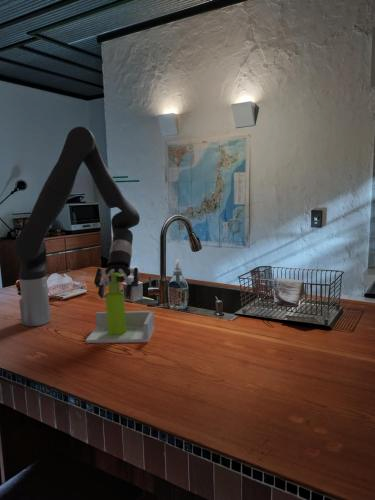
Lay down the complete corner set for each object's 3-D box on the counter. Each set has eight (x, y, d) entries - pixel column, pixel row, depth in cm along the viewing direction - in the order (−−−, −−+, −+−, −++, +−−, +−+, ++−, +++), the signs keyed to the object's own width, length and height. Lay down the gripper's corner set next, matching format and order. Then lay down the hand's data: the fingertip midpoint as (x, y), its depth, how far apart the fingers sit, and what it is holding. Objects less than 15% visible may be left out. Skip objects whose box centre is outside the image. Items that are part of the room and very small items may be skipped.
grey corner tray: (85, 342, 122) (84, 324, 122) (97, 328, 135) (96, 312, 134) (148, 342, 121) (147, 323, 120) (154, 327, 134) (153, 311, 133)
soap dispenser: (119, 337, 123) (114, 275, 120) (104, 333, 127) (100, 273, 124) (132, 331, 128) (128, 272, 125) (117, 327, 132) (113, 270, 129)
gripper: (97, 250, 131) (89, 291, 121) (138, 248, 130) (134, 290, 120) (102, 262, 137) (95, 303, 127) (142, 261, 136) (138, 302, 126)
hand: (114, 297), depth 124 cm, fingers open, 8 cm apart
